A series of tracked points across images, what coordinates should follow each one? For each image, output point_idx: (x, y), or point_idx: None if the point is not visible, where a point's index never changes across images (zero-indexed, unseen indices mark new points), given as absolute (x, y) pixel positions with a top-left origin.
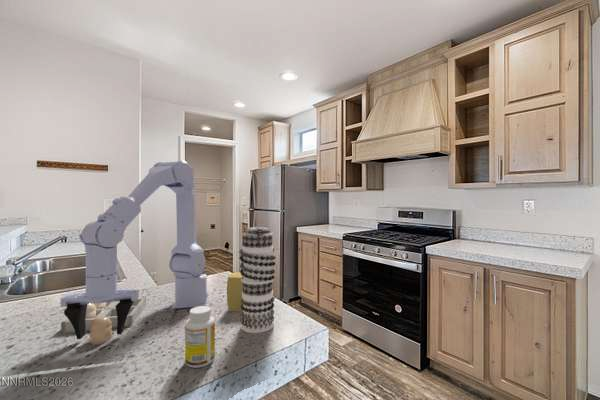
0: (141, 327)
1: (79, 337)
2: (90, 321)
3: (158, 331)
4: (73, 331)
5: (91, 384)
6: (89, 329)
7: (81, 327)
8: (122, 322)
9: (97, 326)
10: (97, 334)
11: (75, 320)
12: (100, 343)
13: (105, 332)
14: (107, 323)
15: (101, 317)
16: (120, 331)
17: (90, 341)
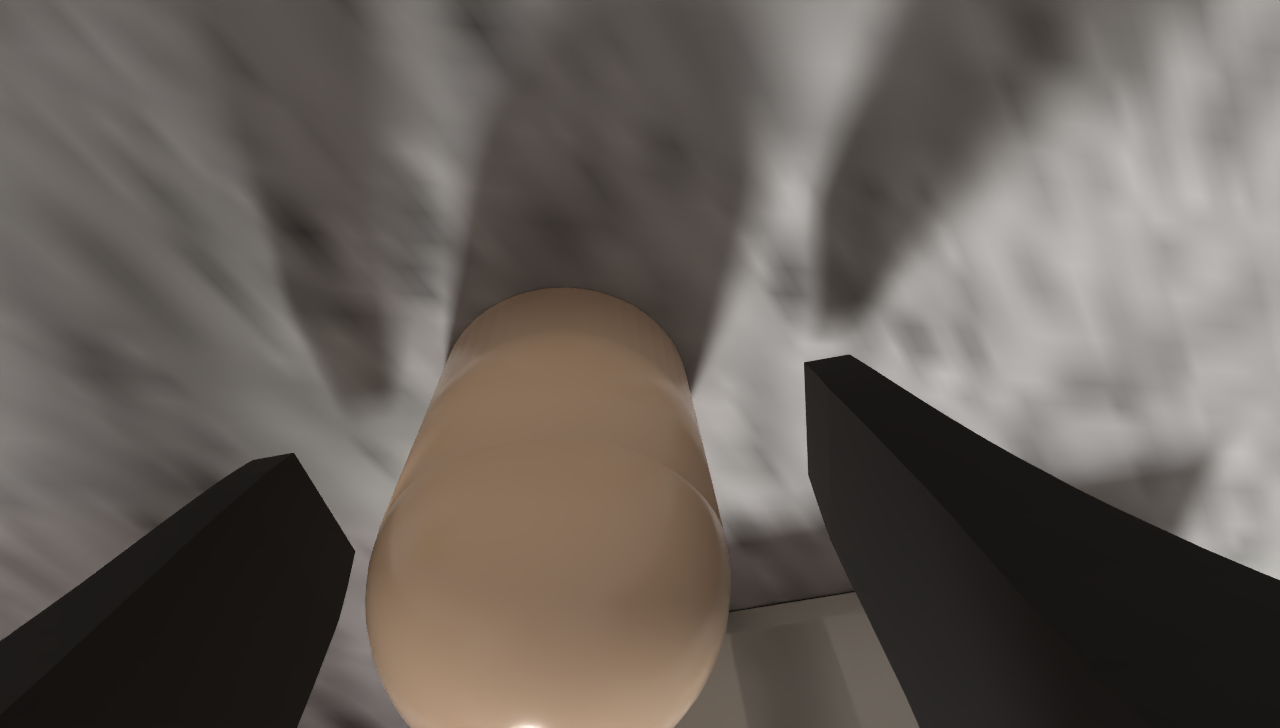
0: (330, 660)
1: (824, 366)
2: (885, 716)
3: (21, 590)
4: None
5: None
6: (857, 620)
7: (877, 520)
8: (21, 629)
9: (496, 502)
10: (511, 387)
11: (1106, 600)
12: (492, 317)
13: (415, 446)
14: (371, 606)
15: None
16: (215, 491)
17: (648, 342)
